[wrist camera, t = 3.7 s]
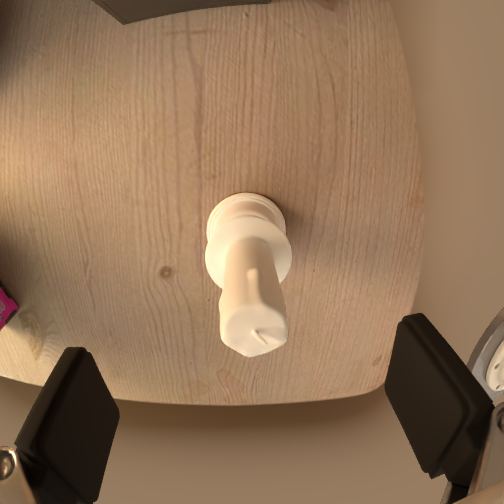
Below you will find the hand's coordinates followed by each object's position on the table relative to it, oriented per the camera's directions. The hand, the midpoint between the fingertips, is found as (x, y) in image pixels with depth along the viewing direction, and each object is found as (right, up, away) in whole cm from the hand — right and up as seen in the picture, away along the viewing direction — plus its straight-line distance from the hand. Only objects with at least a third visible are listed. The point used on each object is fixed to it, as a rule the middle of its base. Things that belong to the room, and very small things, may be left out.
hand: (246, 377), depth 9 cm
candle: (0, +5, +13) cm, 14 cm away
